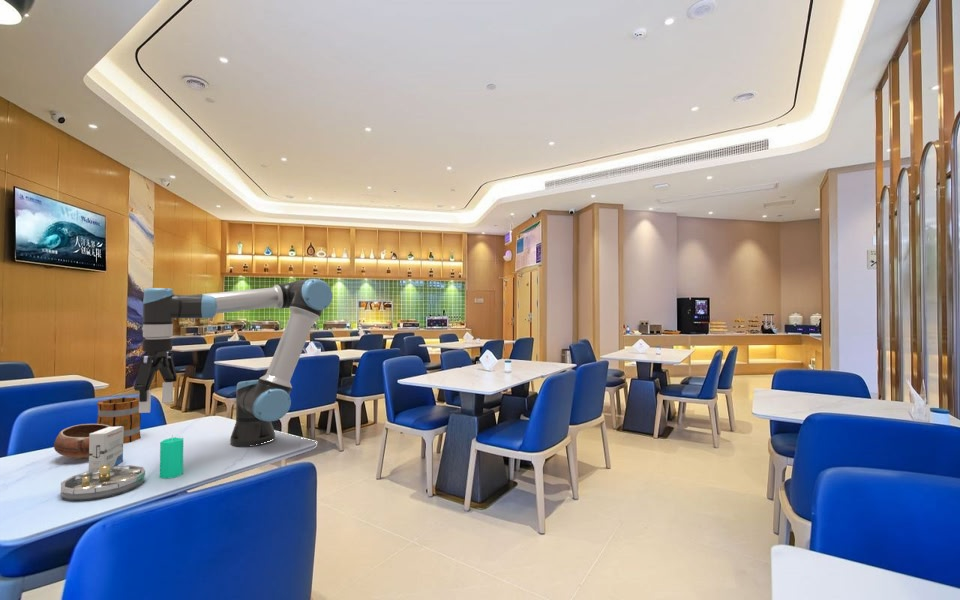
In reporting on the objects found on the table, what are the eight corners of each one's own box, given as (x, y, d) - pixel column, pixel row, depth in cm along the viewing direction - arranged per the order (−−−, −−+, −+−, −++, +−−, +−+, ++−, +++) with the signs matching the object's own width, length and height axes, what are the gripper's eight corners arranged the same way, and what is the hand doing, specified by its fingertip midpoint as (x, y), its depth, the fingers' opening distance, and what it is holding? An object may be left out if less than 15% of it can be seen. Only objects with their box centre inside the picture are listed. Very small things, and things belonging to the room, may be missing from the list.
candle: (171, 479, 134) (171, 438, 134) (154, 477, 135) (154, 437, 135) (188, 472, 140) (188, 432, 140) (171, 470, 141) (172, 431, 141)
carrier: (155, 473, 138) (156, 453, 138) (123, 498, 120) (124, 475, 121) (86, 478, 134) (87, 457, 134) (43, 504, 116) (43, 480, 117)
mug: (136, 443, 168) (137, 402, 168) (90, 447, 162) (90, 405, 163) (148, 429, 186) (149, 393, 186) (107, 433, 180) (107, 395, 180)
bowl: (72, 467, 143) (73, 435, 143) (42, 461, 148) (43, 430, 148) (126, 452, 157) (126, 423, 157) (97, 447, 163) (97, 419, 163)
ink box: (107, 462, 148) (108, 425, 148) (124, 461, 148) (124, 425, 148) (87, 471, 139) (88, 433, 139) (104, 471, 140) (105, 433, 140)
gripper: (164, 335, 151) (163, 399, 151) (119, 341, 126) (118, 417, 126) (189, 335, 152) (188, 398, 152) (149, 341, 128) (148, 416, 128)
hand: (156, 407), depth 139 cm, fingers open, 13 cm apart
